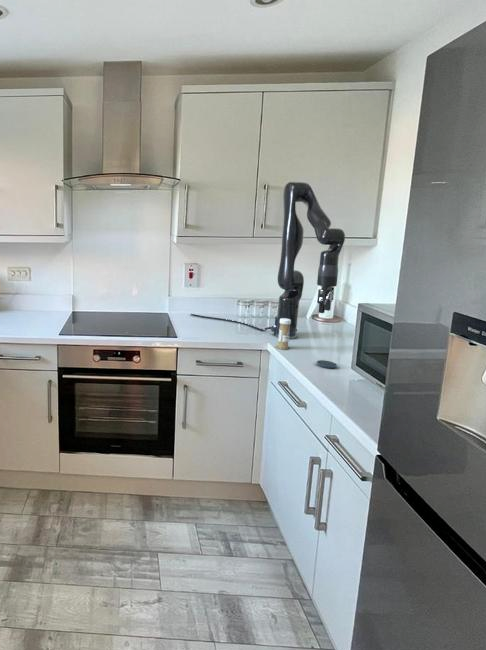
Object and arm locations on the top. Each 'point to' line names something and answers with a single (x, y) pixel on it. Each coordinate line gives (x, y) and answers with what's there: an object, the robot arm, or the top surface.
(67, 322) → the top surface
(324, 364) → the plate
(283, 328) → the sprinkles bottle
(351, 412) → the top surface
